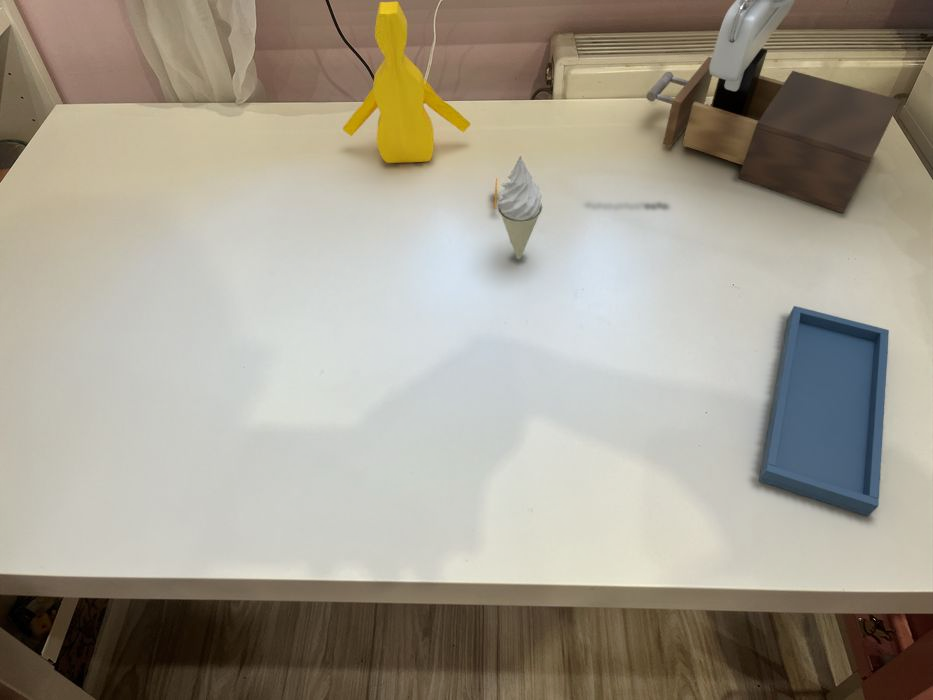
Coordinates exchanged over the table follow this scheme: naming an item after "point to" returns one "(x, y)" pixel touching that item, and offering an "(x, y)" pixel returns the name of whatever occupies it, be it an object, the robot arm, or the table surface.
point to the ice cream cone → (520, 206)
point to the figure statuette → (401, 97)
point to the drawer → (712, 115)
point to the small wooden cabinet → (817, 140)
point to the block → (740, 89)
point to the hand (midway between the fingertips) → (739, 77)
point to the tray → (828, 411)
